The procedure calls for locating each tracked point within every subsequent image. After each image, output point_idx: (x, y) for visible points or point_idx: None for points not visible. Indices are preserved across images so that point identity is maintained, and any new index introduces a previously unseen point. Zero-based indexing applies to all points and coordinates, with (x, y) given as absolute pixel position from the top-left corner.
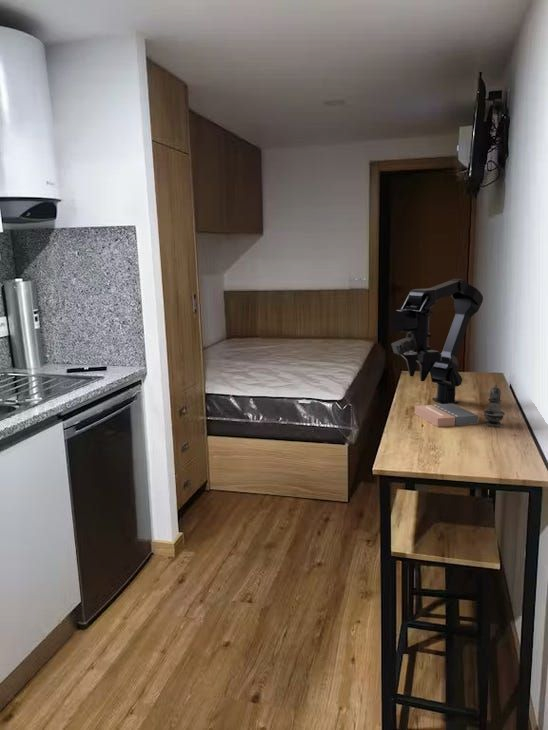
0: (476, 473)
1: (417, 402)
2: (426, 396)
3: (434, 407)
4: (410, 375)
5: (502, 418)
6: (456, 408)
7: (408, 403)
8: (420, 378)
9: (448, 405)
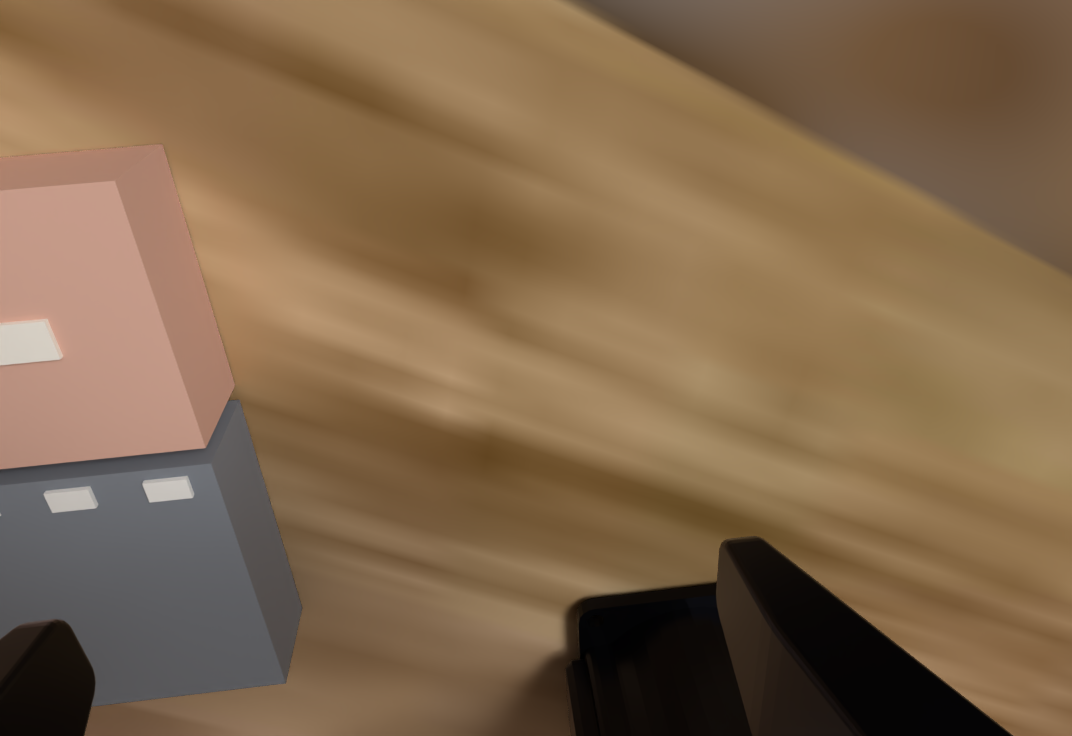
0: None
1: (743, 396)
2: (939, 564)
3: (42, 440)
4: (730, 554)
5: None
6: None
7: (736, 269)
8: (9, 669)
9: (174, 622)
